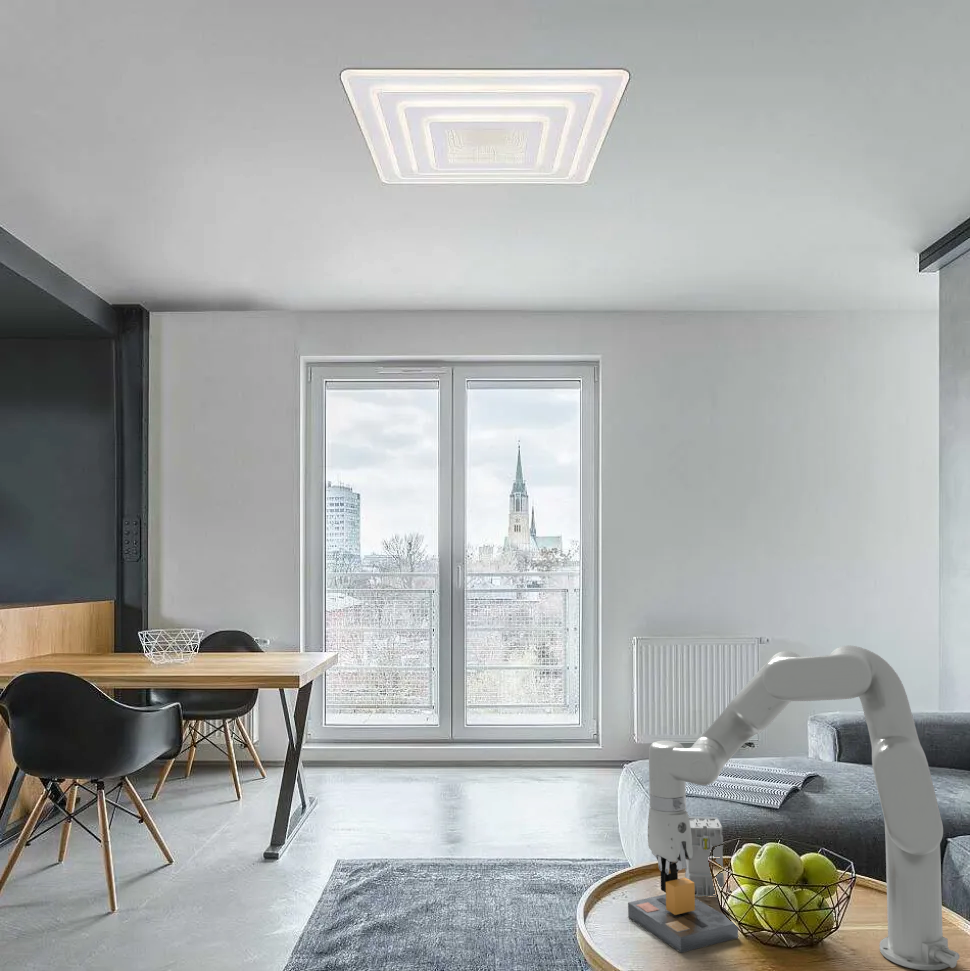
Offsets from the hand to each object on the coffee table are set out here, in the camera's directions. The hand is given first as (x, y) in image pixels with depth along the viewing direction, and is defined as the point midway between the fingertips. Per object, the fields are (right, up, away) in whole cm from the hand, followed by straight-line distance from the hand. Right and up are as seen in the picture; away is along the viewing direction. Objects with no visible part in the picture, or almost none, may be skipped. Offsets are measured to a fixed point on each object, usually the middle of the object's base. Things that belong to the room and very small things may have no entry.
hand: (669, 890), depth 194 cm
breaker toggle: (+2, -3, -4) cm, 5 cm away
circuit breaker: (+11, -7, +18) cm, 22 cm away
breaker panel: (+2, -6, -4) cm, 7 cm away
